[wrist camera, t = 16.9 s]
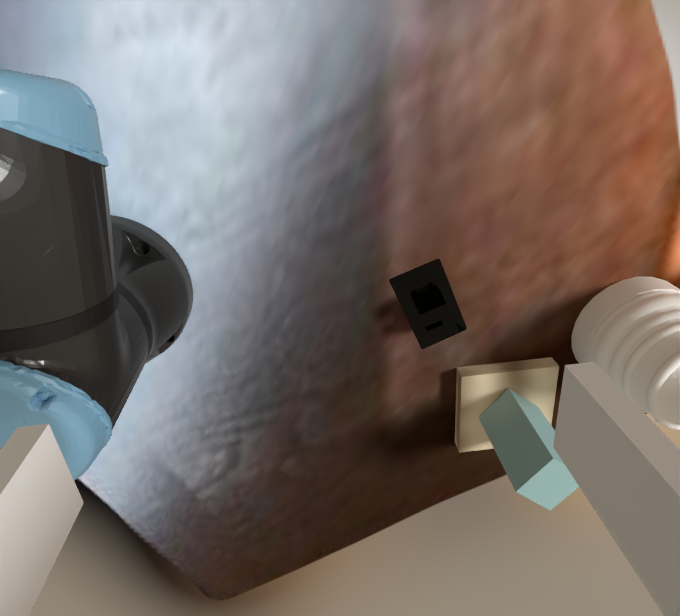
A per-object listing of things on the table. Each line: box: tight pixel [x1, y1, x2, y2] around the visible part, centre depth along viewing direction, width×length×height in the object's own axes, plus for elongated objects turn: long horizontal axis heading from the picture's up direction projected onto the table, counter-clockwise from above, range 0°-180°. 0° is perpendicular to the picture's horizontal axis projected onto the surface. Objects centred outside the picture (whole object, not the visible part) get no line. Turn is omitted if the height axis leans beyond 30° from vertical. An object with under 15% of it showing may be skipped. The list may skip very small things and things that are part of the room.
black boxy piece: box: [389, 259, 467, 349], centre depth 52 cm, size 12×7×5 cm, turn 25°
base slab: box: [455, 357, 559, 452], centre depth 59 cm, size 11×11×2 cm
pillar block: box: [479, 388, 579, 510], centre depth 53 cm, size 5×5×11 cm
